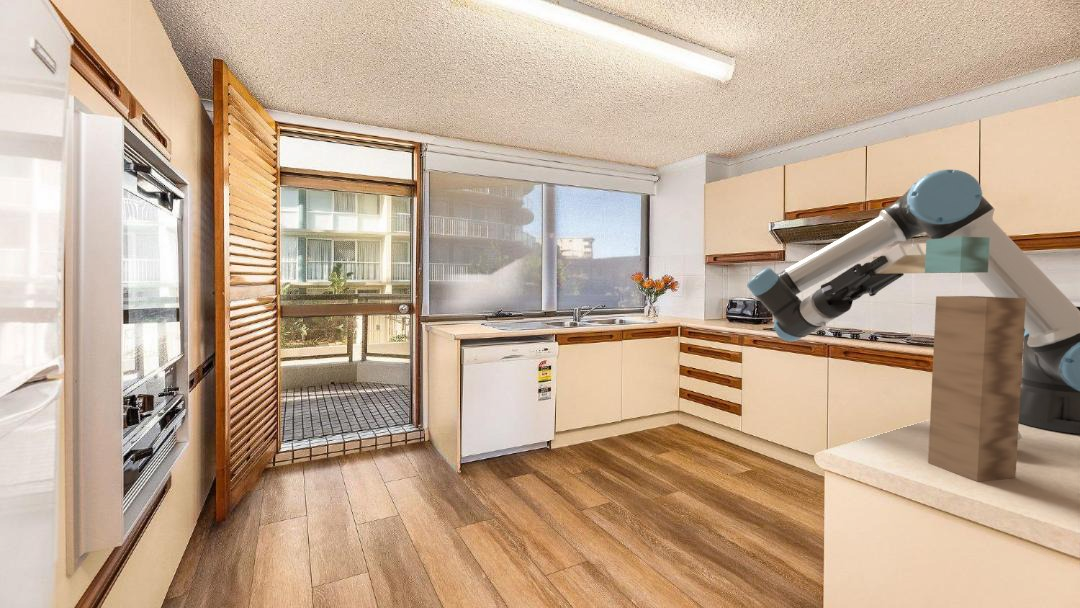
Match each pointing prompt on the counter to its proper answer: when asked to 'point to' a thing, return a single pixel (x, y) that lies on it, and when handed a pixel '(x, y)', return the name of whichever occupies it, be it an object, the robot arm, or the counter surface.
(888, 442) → the counter surface
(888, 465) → the counter surface
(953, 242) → the mallet
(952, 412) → the stand
